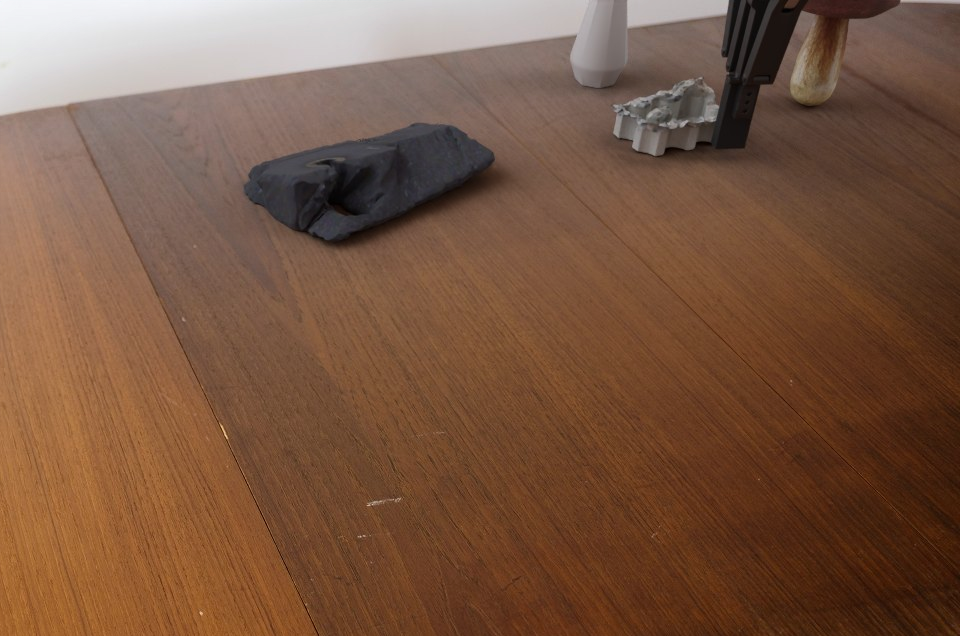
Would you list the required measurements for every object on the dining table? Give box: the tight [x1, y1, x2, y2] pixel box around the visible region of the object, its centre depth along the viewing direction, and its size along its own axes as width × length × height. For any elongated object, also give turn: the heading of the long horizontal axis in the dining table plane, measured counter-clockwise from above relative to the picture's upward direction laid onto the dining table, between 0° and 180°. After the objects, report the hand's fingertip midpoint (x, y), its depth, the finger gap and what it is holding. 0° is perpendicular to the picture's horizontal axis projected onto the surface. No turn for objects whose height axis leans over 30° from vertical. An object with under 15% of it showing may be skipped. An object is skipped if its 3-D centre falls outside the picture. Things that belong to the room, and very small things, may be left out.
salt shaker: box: [569, 0, 629, 89], centre depth 127 cm, size 6×6×13 cm
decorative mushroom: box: [789, 0, 901, 107], centre depth 121 cm, size 11×11×15 cm
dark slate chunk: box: [243, 122, 496, 243], centre depth 113 cm, size 15×22×5 cm
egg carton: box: [610, 76, 720, 157], centre depth 120 cm, size 11×8×4 cm
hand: (727, 145), depth 116 cm, fingers closed
